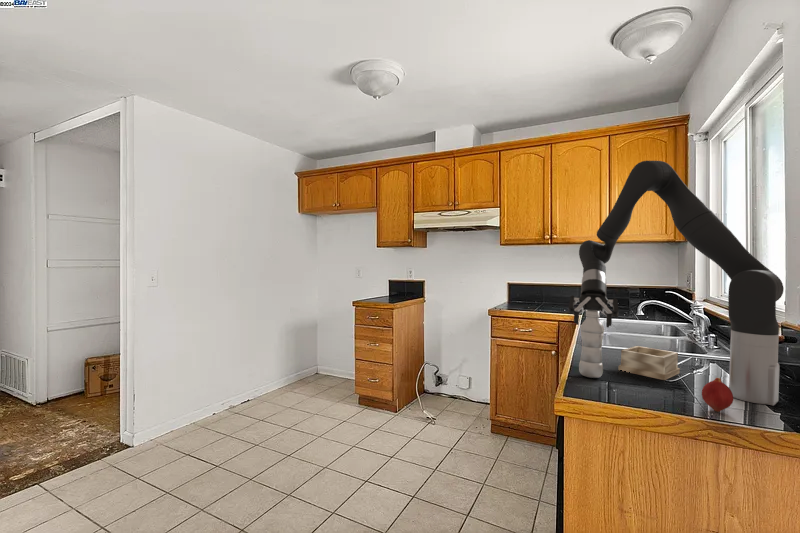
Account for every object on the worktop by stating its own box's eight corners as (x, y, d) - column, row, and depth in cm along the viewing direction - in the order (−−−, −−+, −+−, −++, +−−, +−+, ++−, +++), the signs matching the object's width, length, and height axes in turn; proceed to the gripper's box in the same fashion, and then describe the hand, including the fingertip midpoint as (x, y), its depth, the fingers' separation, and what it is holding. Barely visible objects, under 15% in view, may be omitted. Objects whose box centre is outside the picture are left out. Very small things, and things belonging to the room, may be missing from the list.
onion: (696, 405, 96) (697, 372, 96) (725, 408, 95) (726, 375, 95) (707, 414, 91) (708, 379, 91) (738, 417, 89) (739, 382, 89)
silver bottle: (590, 373, 123) (592, 309, 123) (608, 379, 117) (610, 311, 116) (573, 374, 121) (575, 309, 121) (590, 381, 115) (592, 312, 114)
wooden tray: (679, 373, 125) (680, 352, 125) (664, 380, 117) (665, 358, 117) (635, 364, 136) (635, 345, 135) (618, 370, 127) (619, 350, 127)
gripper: (570, 277, 134) (567, 315, 124) (618, 279, 127) (619, 319, 117) (571, 292, 139) (567, 329, 128) (617, 294, 132) (617, 334, 122)
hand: (592, 324), depth 123 cm, fingers open, 8 cm apart
